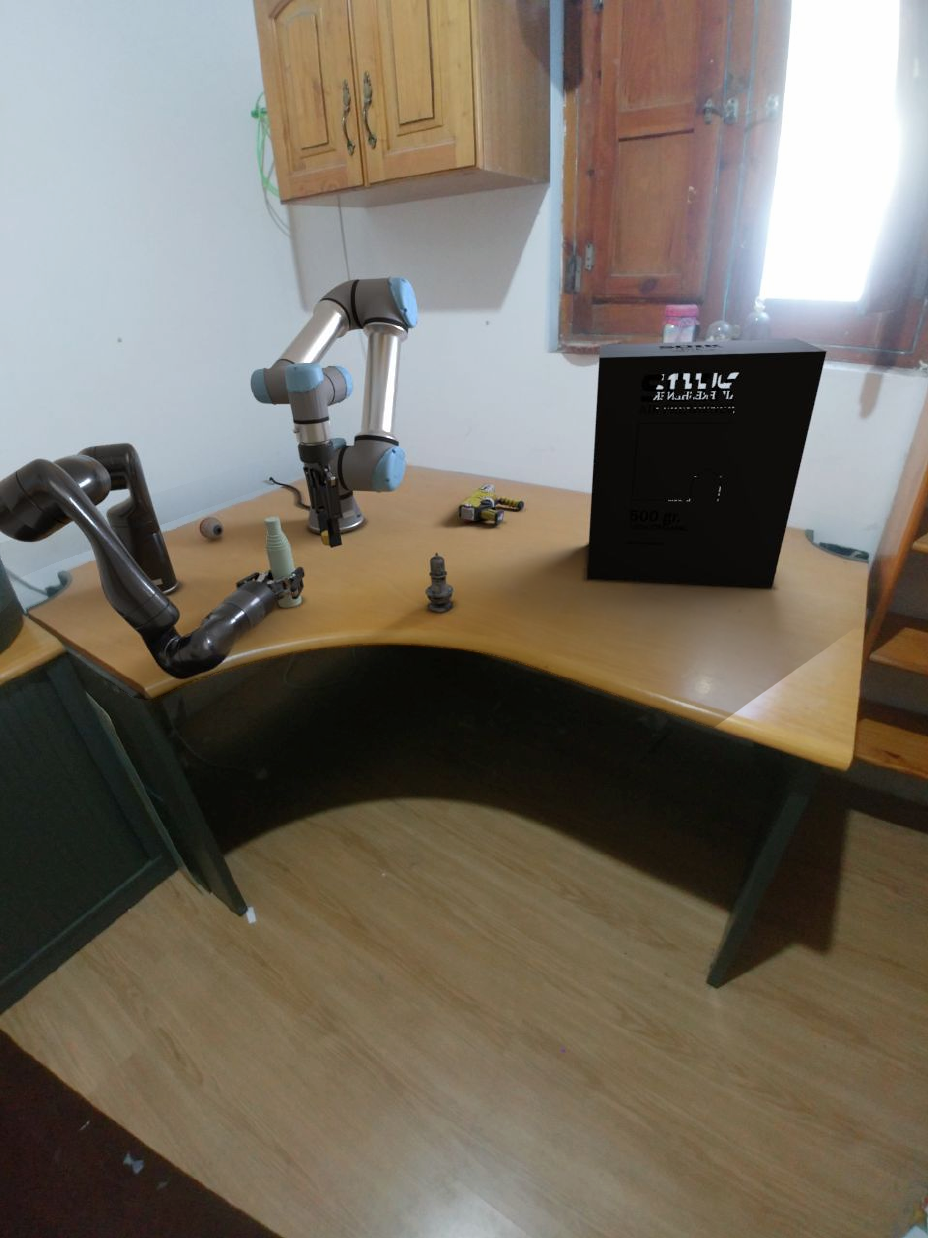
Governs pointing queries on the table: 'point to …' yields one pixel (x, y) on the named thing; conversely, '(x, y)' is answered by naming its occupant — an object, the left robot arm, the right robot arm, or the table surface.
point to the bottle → (279, 557)
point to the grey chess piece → (439, 586)
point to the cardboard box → (698, 459)
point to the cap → (325, 538)
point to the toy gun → (486, 505)
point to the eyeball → (211, 528)
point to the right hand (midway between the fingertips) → (331, 542)
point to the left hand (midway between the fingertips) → (290, 570)
